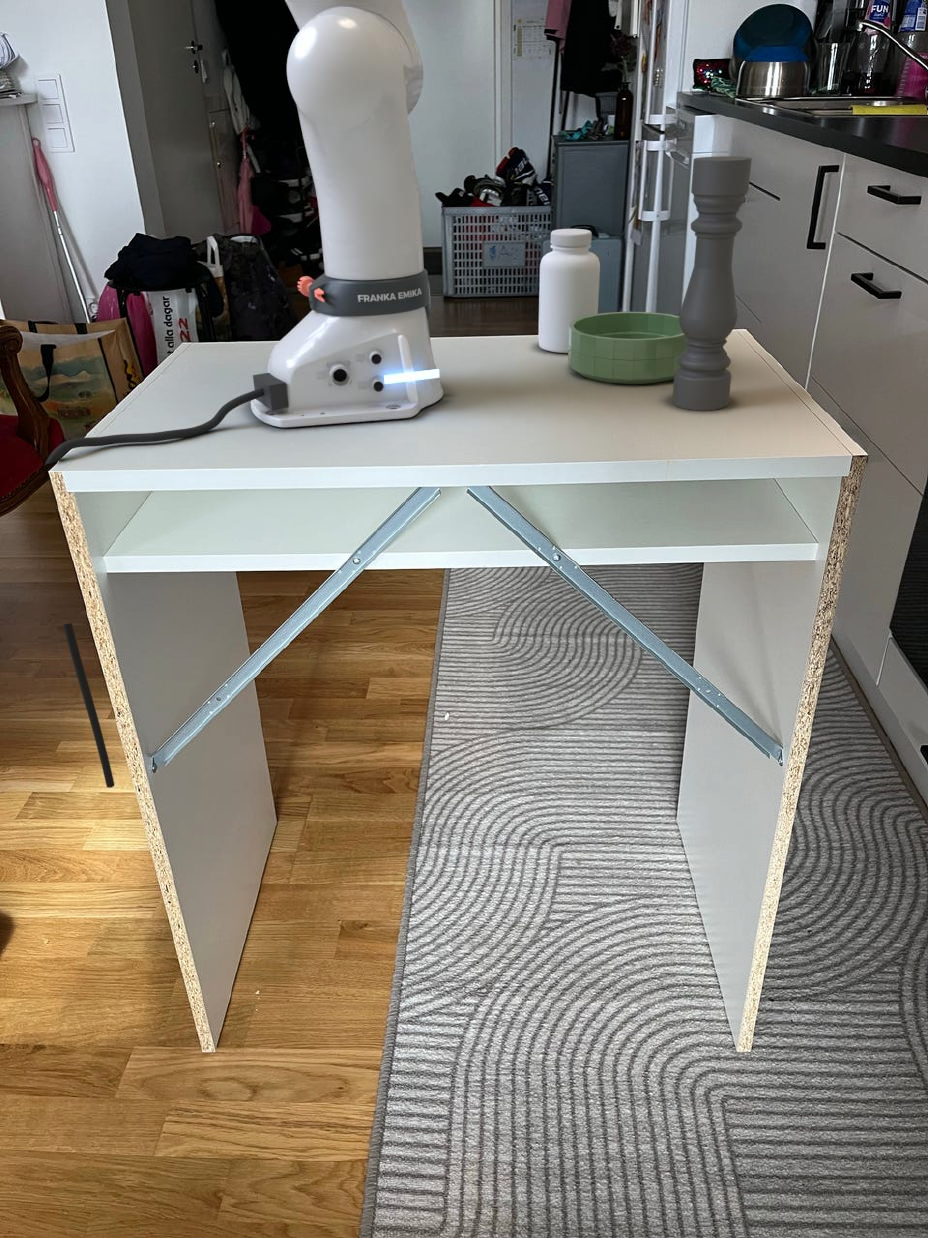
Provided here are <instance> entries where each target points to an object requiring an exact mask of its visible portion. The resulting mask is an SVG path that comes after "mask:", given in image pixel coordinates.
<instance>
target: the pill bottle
mask: <svg viewBox="0 0 928 1238" xmlns="http://www.w3.org/2000/svg"><path fill="white" fill-rule="evenodd" d="M592 235H593V234H592V231H591V230H588V229H583V228H561V229H559V228H558V229H554V230H552V231H551V232H550V246H549V247H550V249H552V251H549V252H548V253H547V252H546V254H544V256H542V258H541V260H540V264H539V295H538V297H539V298H538V346H539V348H540V349H542V350H545V351H547V352H551V353H560V354H568V345H569V344H568V341H569V325H570V324H571V322H572V321H574V320H577V319H579V318H581V317H586V316H590V315H595V314H599V295H600V277H601V276H600V274H601V262H600V259H599V257H598V256H597V255H596V254H595V253H594V252H591V251H589V249H591V248H592V245H591V244H592V237H593V236H592Z"/></svg>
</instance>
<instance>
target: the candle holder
mask: <svg viewBox="0 0 928 1238" xmlns="http://www.w3.org/2000/svg"><path fill="white" fill-rule="evenodd" d="M752 159H753V158H752V157H749V156H736V155H735V156H734V155H731V156H730V155H729V156H728V155H727V156H725V155H724V156H721V155H720V156H718V155H717V156H702V157H701V156H700V157H695V158H693V162H692V176H691V186H690V187H691V188H690V189H691V190H690V193H691V194H692V195H693V199H692V201H693V204H694V205H695V209H696V212H697V213H698V216H697V218H695V219H694V220H693V221H692V222H691V223H690V230H691V231H692V232H694V236H695V237H696V240H695V251H694V261H693V269H692V272H691V276H690V278H689V281H688V285H687V288H686V292H685V295H684V299H683V301H682V304H681V306H680V311H679V315H678V316H679V323H680V327H681V329H682V332H683V333H684V334H685V336H686V337H687V338H686V340H685V342H686V343H687V348H686V349H685V350H684V351H683V353H682V354H681V356H680V357H679V358H678V364H679V365H680V366H681V368H679V369H677V370H676V371H675V373H674V379H673V387H672V388H673V389H672V400H671V401H672V404H673V405H674V406H676V407H678V408H681V409H684V410H690V411H698V412H699V411H717V410H722V409H724V408H727V407H728V405H729V403H730V393H731V385H732V383H731V382H732V372H730V371H729V369H727V368H729V366H730V365H731V358H730V356H728V353H727V351H726V349H725V348H724V346H725V345H726V344H727V342H728V340H727V338H728V337H729V336H730V335H731V333H732V332H733V330H734V329H735V327H736V325H737V322H738V307H737V300H736V294H735V283H734V276H733V267H732V266H733V257H734V256H733V255H734V246H735V237H736V236H737V234H738V233H739V232H740V231H741V230H742V229H743V222H742V221H741V219H739V218H738V216H737V213H738V212H740V210H741V206H742V205H743V204H744V202H745V199H746V197H745V196H746V194H748V193H749V191H750V189H749V187H750V179H751V170H752V169H751V168H752Z"/></svg>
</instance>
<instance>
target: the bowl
mask: <svg viewBox="0 0 928 1238" xmlns="http://www.w3.org/2000/svg"><path fill="white" fill-rule="evenodd" d="M686 338H687V337H686V336H685V334H684V333H683V332H682V329H681V327H680V323H679V315H675V314H670V313H661V312H650V311H616V312H603V313H598V314H595V315H590V316H586V317H581V318H579V319H577V320H574V321H572V322H571V324H570V325H569V341H568V344H569V345H568V353H567V364H568V366H569V367H570V369H572V370H574V371H576V372H577V373H578V374H579V375H581V376H583V377H585V378H587V379H590V380H594V381H598V382H603V383H612V384H620V385H623V384H624V385H641V384H642V385H643V384H644V385H645V384H654V383H656V384H657V383H661V382H668V381H670V380H674V373H675V371H676V370H677V369H679V368H681V366H680V365H679V364H678V358H679V357H680V356H681V354H682V353H683V351H684V350H685V349H686V348H687V343H686V342H685V340H686Z"/></svg>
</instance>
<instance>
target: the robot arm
mask: <svg viewBox="0 0 928 1238" xmlns="http://www.w3.org/2000/svg"><path fill="white" fill-rule="evenodd" d="M284 1H285V4H286V6H287V7H288V9H289V11H290V13H291V15H292V17H293V19H294V22H295V24H296V25H297V28H298V30H299V31H298V32H297V34H296V35H295V37H294V38H293V41H292V43H291V45H290V48H289V49H288V54H287V60H286V77H287V83H288V87H289V92H290V93H291V97H292V99H293V100H294V102H295V106H296V108H297V113H298V118H299V124H300V128H301V132H302V139H303V142H304V147H305V151H306V155H307V159H308V164H309V167H310V170H311V176H312V180H313V183H314V188H315V193H316V195H315V196H316V199H317V207H318V216H319V226H320V237H321V247H322V257H323V267H324V268H323V270H324V272H323V274H321V275H320V276H318V277H317V278H316V279H314V278H312V277H310V276H308V275H305V276H301V277H300V278H299V280H300V281H299V280H298V281H297V284H298V285H297V289H298V292H300V293H301V294H302V295H303V296H305V297H308V302H309V307H310V309H311V310H310V311H309V313H308V314H307V315H306V316H304V317H303V318H302V319H301V320H300V321H299V322H298V323H297V324H296V325H295V326H293V328H292V329H291V330H290V331H289V332H288V333H287V334H286V335H284V336H283V337H282V338H281V339H280V340H279V341H278V342H277V343H276V344H275V345H274V346H273V347H272V349H271V351H270V354H269V357H268V364H267V372H264V373H258V374H252V381H253V388H254V390H252V391H249V392H246V393H243V394H242V395H239V396H236V397H234V398H233V399H231V400H229V401H228V402H226V403H225V404H223V405H222V406H221V407H220V408H219V409H218V411H217V412H216V414H214V416H213V417H212V418H211V419H210V420H207V421H206V422H204V423H202V424H199V425H196V426H193V427H188V428H180V429H173V430H171V429H170V430H165V431H164V430H163V431H156V432H145V433H119V434H111V435H104V436H94V437H93V436H92V437H91V436H90V437H89V436H88V437H77V438H73V439H69V440H66V441H64V442H62V443H61V444H59V445H57V446H56V448H54V450H53V451H52V452H51V453H50V454H49V456H48V458H47V460H46V461H45V464H48V465H49V464H55V463H57V462H59V460H60V459H61V458H62V457H63V456H64V455H65V454H66V453H67V452H69V451H71V450H73V449H78V448H88V447H104V446H110V445H119V444H134V443H135V444H137V443H155V442H162V441H163V442H164V441H170V440H176V439H177V440H178V439H186V438H191V437H195V436H199V435H202V434H205V433H207V432H209V431H211V430H213V429H214V428H216V427H217V426H219V425H220V424H221V423H222V421H223V420H224V419H225V417H226V416H227V415H228V414H229V413H230V412H232V411H233V410H234V409H236V408H238V407H239V406H242V405H244V404H247V403H249V402H250V409H251V412H252V413H253V415H254V417H256V418H257V419H258V420H260V421H261V422H262V423H264V424H266V425H270V426H273V427H278V428H297V427H309V426H321V425H322V426H323V425H333V424H334V425H335V424H346V423H360V422H371V421H386V420H399V419H409V418H413V417H414V416H416V415H418V414H419V413H420V411H421V410H422V409H424V408H426V407H428V406H431V405H433V404H435V403H436V402H438V401H439V400H441V399H442V398H443V396H444V390H443V387H442V383H441V381H440V369H439V368H437V366H436V362H435V358H434V353H433V348H432V347H433V346H432V342H431V335H430V328H429V327H430V326H429V321H430V318H431V314H430V311H431V290H430V288H431V287H430V282H429V275H428V273H429V272H428V270H427V269H426V268H425V266H424V245H423V244H424V243H423V224H422V203H421V201H422V200H421V191H420V187H419V184H418V183H419V182H418V179H417V174H416V168H415V167H416V166H415V161H414V155H413V147H412V139H411V133H410V124H409V116H410V114H411V113H412V112H413V110H414V109H415V107H416V106H417V104H418V102H419V99H420V97H421V94H422V89H423V85H424V65H423V60H422V56H421V53H420V50H419V48H418V44H417V41H416V39H415V35H414V33H413V29H412V27H411V23H410V21H409V18H408V15H407V13H406V12H407V11H406V10H405V7H404V5H403V1H402V0H284ZM62 627H63V631H64V635H65V638H66V642H67V646H68V650H69V653H70V657H71V661H72V664H73V668H74V671H75V674H76V675H75V676H76V678H77V681H78V685H79V688H80V691H81V695H82V699H83V702H84V706H85V710H86V712H87V716H88V719H89V724H90V727H91V730H92V734H93V736H94V737H93V738H94V741H95V745H96V749H97V752H98V756H99V760H100V764H101V769H102V773H103V777H104V781H105V785H106V788H110V789H111V788H114V787H115V782H114V781H115V780H114V776H113V771H112V767H111V763H110V759H109V755H108V752H107V747H106V744H105V739H104V735H103V732H102V728H101V725H100V720H99V717H98V714H97V709H96V706H95V702H94V699H93V696H92V691H91V689H90V686H89V681H88V678H87V675H86V671H85V668H84V667H85V666H84V664H83V660H82V657H81V654H80V649H79V646H78V642H77V637H76V633H75V631H74V627H73V623H72V622H69V623H65V624H64V623H63V624H62Z"/></svg>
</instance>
